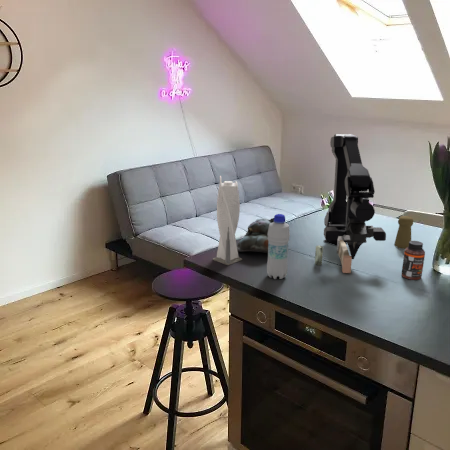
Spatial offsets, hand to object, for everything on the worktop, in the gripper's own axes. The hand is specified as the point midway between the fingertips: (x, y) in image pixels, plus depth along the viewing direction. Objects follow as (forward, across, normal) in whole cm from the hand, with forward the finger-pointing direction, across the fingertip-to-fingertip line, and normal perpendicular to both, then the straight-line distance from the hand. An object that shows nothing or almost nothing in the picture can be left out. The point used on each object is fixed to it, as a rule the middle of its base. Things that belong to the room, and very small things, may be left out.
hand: (352, 258), depth 164 cm
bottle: (+2, -25, -10) cm, 27 cm away
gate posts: (+2, -6, +7) cm, 10 cm away
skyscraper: (+2, -41, +3) cm, 41 cm away
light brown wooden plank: (+2, -3, +2) cm, 4 cm away
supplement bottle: (+3, +17, -7) cm, 19 cm away
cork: (+3, +22, +22) cm, 31 cm away
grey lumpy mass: (+2, -31, +11) cm, 33 cm away
